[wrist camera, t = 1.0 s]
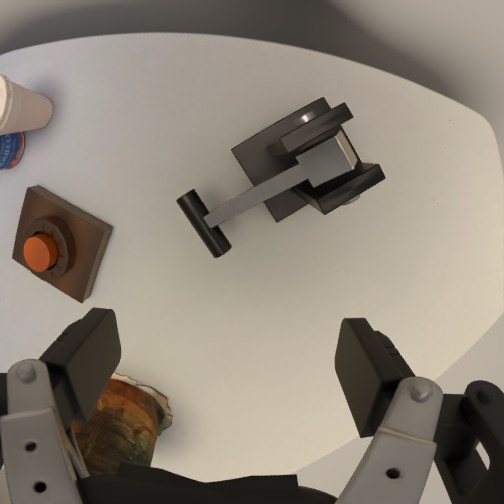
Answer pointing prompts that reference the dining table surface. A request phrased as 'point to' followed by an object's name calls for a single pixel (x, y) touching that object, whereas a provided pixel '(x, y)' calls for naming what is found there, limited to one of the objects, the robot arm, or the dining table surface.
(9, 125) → the smoothie
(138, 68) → the dining table surface
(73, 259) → the button block
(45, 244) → the button
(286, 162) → the switch bracket
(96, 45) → the dining table surface
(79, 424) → the vessel
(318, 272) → the dining table surface
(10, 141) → the pill bottle
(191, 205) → the switch
